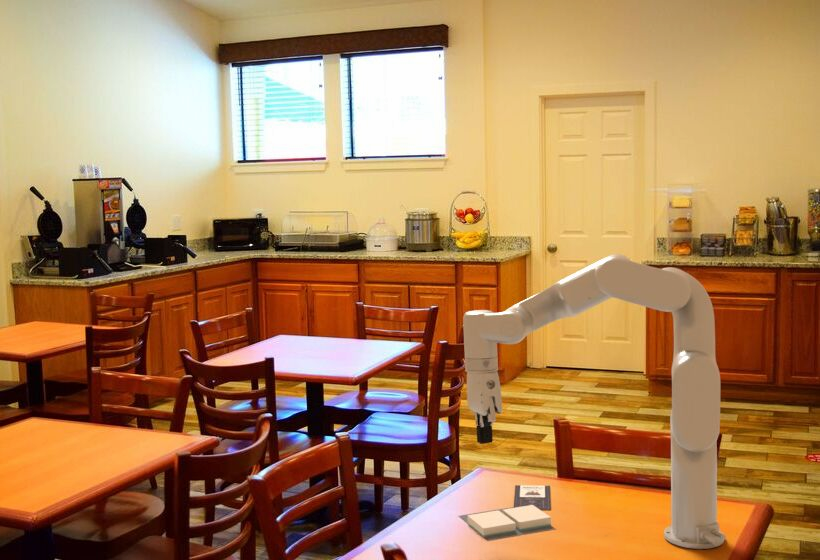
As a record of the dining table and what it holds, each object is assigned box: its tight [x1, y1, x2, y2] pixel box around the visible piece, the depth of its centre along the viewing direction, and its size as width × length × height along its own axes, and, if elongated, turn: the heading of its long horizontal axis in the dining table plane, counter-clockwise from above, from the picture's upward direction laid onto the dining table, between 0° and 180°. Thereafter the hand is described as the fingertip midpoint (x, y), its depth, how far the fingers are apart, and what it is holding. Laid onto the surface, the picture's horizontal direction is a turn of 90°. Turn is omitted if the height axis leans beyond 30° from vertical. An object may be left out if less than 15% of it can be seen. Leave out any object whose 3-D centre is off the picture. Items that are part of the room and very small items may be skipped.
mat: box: [458, 506, 556, 542], centre depth 206 cm, size 17×17×1 cm
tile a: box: [502, 505, 552, 531], centre depth 206 cm, size 2×8×9 cm
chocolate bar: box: [513, 484, 552, 511], centre depth 223 cm, size 9×1×18 cm
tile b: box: [466, 509, 516, 538], centre depth 203 cm, size 2×8×9 cm
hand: (484, 442), depth 204 cm, fingers closed
